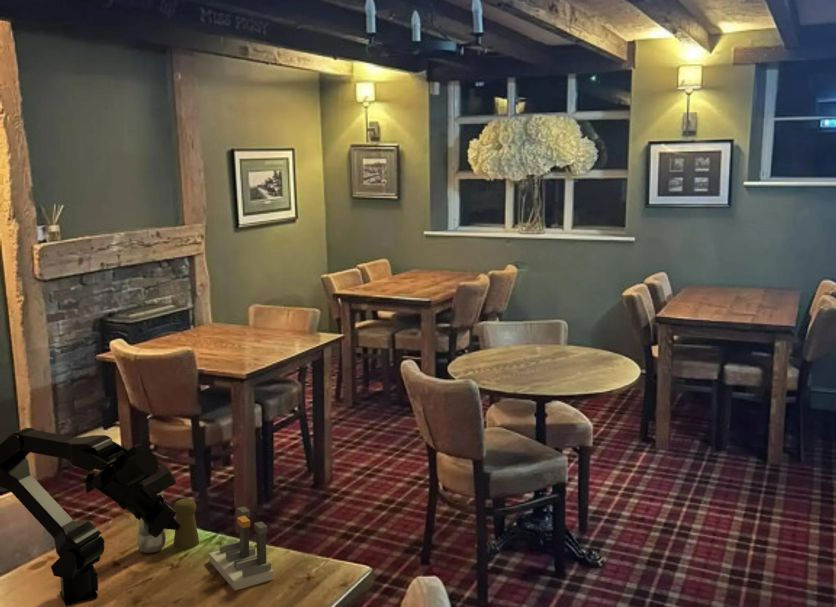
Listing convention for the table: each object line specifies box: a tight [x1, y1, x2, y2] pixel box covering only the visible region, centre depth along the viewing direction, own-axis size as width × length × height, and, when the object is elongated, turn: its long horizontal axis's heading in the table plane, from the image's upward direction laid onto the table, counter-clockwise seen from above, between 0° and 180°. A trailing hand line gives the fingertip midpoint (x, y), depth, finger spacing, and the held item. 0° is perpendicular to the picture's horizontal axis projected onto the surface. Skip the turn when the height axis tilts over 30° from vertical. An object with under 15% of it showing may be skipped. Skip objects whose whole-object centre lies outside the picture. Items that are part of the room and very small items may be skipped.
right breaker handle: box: [253, 521, 269, 565], centre depth 178 cm, size 2×3×10 cm, turn 34°
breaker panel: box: [208, 540, 275, 591], centre depth 182 cm, size 9×16×4 cm, turn 34°
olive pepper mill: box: [173, 498, 200, 550], centre depth 194 cm, size 6×6×11 cm
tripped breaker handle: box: [236, 516, 251, 559], centre depth 181 cm, size 2×3×10 cm, turn 34°
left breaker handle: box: [237, 506, 251, 528], centre depth 187 cm, size 2×3×10 cm, turn 34°
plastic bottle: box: [136, 490, 167, 554], centre depth 190 cm, size 6×7×20 cm
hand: (178, 527), depth 172 cm, fingers closed
